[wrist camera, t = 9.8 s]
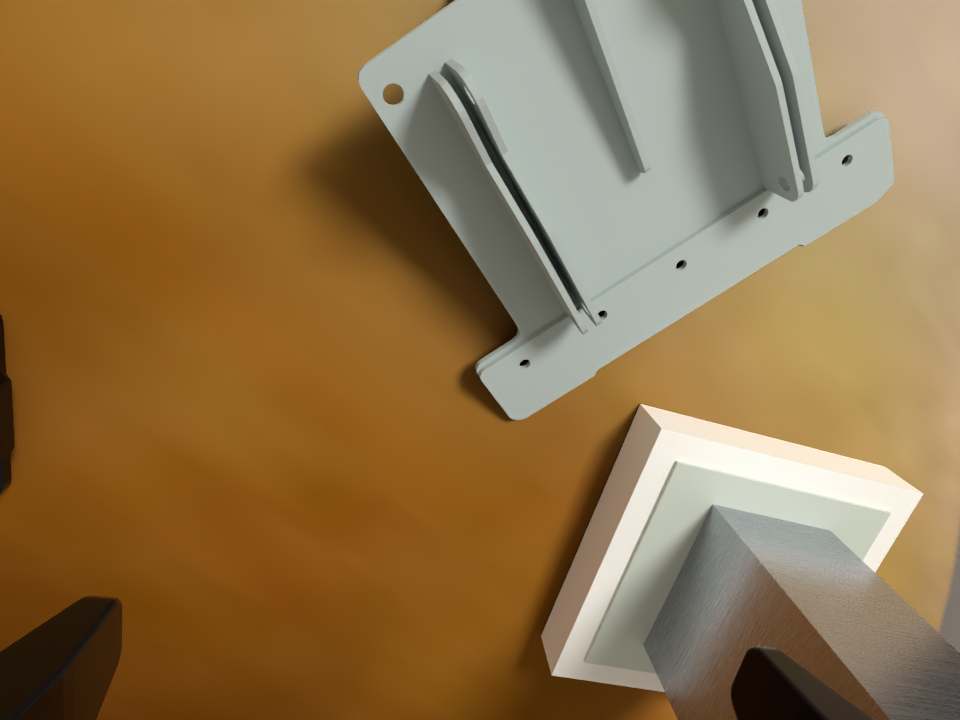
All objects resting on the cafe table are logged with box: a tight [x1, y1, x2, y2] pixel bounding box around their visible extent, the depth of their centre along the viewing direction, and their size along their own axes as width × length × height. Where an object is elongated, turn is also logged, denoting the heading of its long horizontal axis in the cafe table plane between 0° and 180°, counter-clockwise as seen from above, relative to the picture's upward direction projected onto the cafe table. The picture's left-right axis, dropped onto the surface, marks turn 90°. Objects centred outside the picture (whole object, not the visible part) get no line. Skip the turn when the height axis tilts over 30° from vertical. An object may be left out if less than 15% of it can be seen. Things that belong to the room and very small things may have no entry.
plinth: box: [541, 404, 923, 692], centre depth 24 cm, size 11×11×2 cm
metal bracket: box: [358, 0, 894, 420], centre depth 19 cm, size 14×6×15 cm
